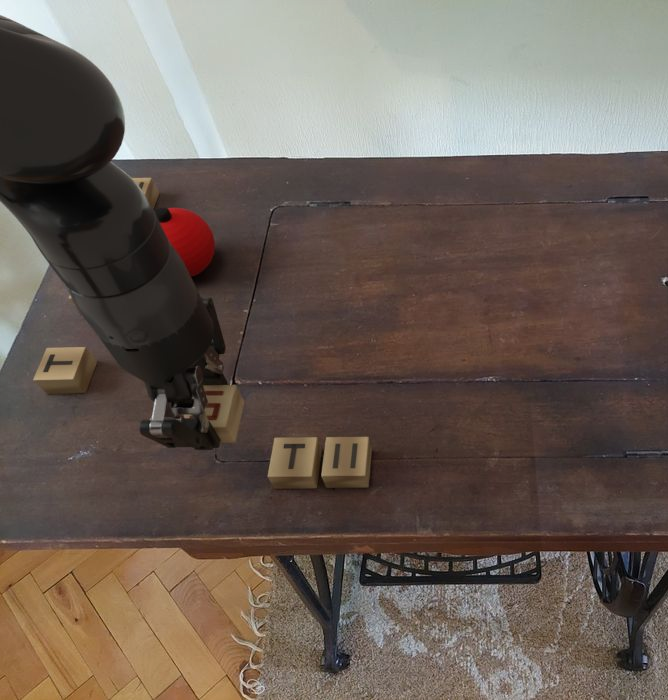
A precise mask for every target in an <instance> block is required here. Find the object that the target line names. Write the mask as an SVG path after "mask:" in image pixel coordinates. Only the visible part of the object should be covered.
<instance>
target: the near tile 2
mask: <svg viewBox="0 0 668 700" xmlns="http://www.w3.org/2000/svg"><path fill="white" fill-rule="evenodd" d="M322 455H323V449H322V447H321V444H320V441H319V438H318V437H317V436H305V437H301V436H299V437H298V436H297V437H296V436H295V437H294V436H293V437H274V439H273V445H272V450H271V455H270V461H269V468H268V471H267V478H268V480H269V482H270V484H271V485H272V487H273V489H274V490H276V489H277V490H279V489H281V490H282V489H286V490H287V489H289V490H290V489H291V490H292V489H295V490H296V489H318V486H319V485H318V484H319V476H320V470H321V462H322Z"/></svg>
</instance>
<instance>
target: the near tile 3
mask: <svg viewBox="0 0 668 700" xmlns="http://www.w3.org/2000/svg"><path fill="white" fill-rule="evenodd" d="M372 451H373V448H372V445H371V441H370V437H369V436H326V438H325V443H324V452H323V458H322V466H321V478H322V481H323V484H324V486H325V488H326V489H345V488H347V489H348V488H349V489H353V488H357V489H358V488H363V489H364V488H369V487H370V477H371V467H372V465H371V463H372V455H373V452H372Z"/></svg>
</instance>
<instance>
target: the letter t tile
mask: <svg viewBox="0 0 668 700" xmlns="http://www.w3.org/2000/svg"><path fill="white" fill-rule="evenodd" d="M97 364H98V360H97V359H96V358H95V356H94V355H93V354H92V353H91V352H90V350H89V349H88V348H87V347H86V346H72V347H71V346H69V347H46V348H45V350H44V354H43V356H42V358H41V360H40V363H39V365H38V367H37V369H36V372H35V374H34V377H33V379H32V381H33V382H34V383H35V384H36V385H37V386H38V387H39V388H40V389H41V390H42V391H43V392H44V393H45V394H46V395H64V394H65V395H66V394H68V395H69V394H86V393H87V391H88V388H89V386H90V383H91V381H92V378H93V374H94V372H95V369H96V367H97Z"/></svg>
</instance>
